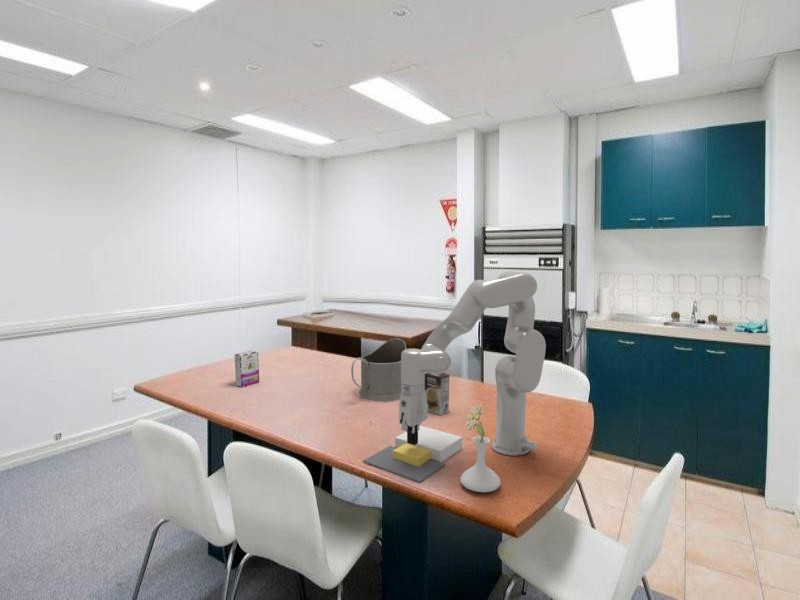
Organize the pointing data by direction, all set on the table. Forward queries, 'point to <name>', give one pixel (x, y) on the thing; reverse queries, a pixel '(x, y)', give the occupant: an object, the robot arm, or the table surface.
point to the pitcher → (382, 372)
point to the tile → (411, 454)
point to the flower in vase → (479, 458)
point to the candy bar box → (246, 368)
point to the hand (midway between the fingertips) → (412, 443)
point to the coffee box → (437, 392)
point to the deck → (434, 442)
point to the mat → (403, 465)
